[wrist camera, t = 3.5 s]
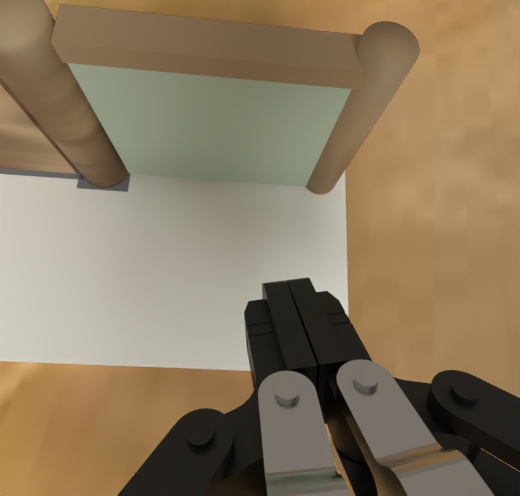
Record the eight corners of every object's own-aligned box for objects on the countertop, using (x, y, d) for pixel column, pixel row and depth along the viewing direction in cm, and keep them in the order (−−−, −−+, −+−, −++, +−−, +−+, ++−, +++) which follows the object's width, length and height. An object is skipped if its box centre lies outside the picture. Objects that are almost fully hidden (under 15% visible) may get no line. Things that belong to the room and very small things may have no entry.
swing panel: (335, 165, 20) (417, 24, 12) (335, 195, 20) (421, 72, 11) (133, 149, 20) (54, -14, 11) (128, 180, 19) (42, 36, 10)
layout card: (341, 82, 23) (343, 78, 22) (347, 374, 18) (349, 374, 18) (2, 51, 21) (-2, 46, 21) (-82, 357, 17) (-89, 357, 17)
